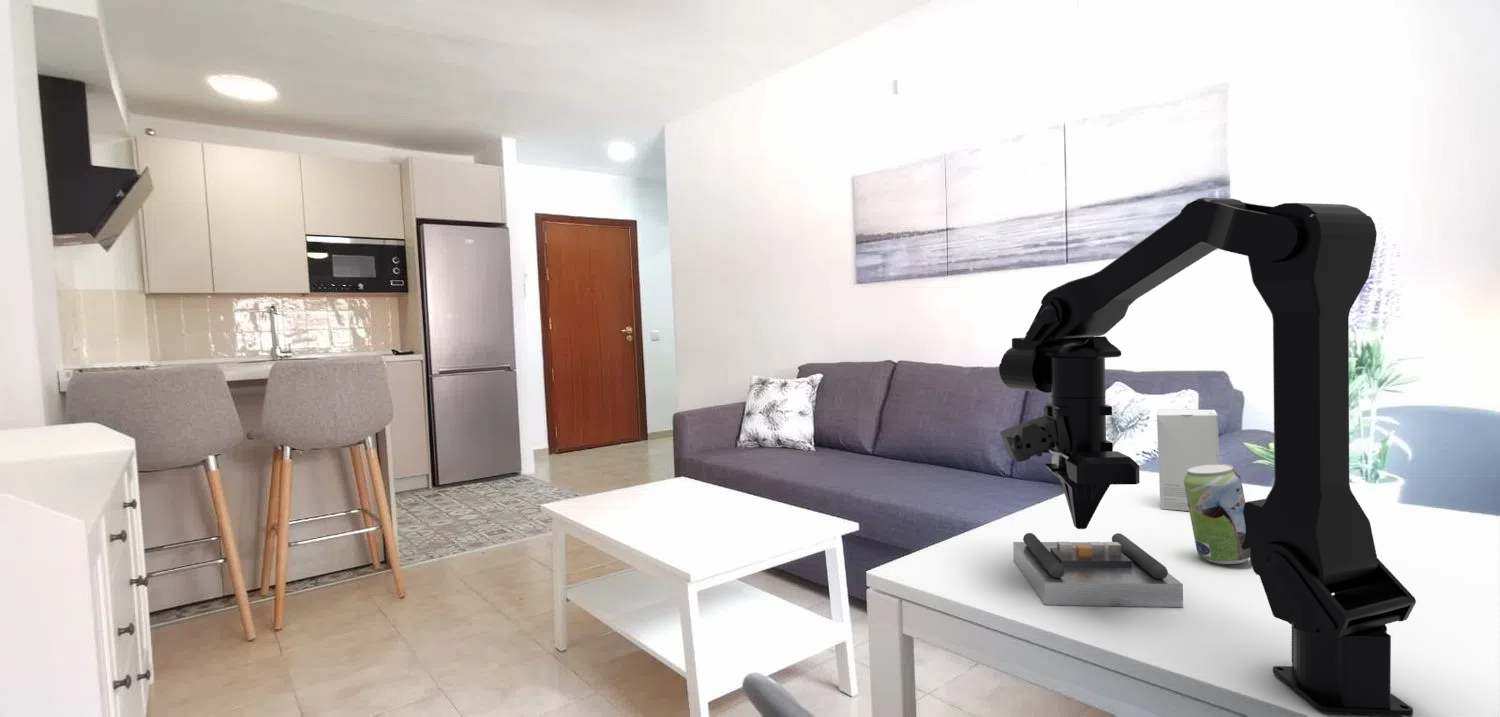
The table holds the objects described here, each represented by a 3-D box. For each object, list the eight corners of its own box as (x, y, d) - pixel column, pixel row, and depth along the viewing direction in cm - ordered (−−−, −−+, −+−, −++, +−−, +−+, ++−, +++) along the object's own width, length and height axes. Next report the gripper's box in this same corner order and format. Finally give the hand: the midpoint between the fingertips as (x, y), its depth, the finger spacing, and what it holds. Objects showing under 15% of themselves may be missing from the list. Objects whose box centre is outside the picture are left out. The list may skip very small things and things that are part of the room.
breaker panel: (1183, 607, 73) (1182, 565, 73) (1045, 604, 75) (1044, 564, 75) (1128, 562, 87) (1128, 526, 87) (1013, 560, 89) (1012, 526, 89)
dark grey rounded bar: (1066, 580, 75) (1066, 565, 75) (1051, 580, 75) (1051, 565, 75) (1035, 543, 88) (1034, 531, 88) (1021, 543, 88) (1021, 531, 88)
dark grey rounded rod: (1170, 581, 74) (1170, 567, 74) (1154, 581, 74) (1154, 566, 74) (1123, 544, 86) (1123, 531, 86) (1109, 544, 86) (1109, 531, 86)
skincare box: (1219, 505, 111) (1218, 409, 110) (1221, 515, 105) (1220, 414, 104) (1158, 500, 115) (1157, 407, 114) (1157, 509, 109) (1156, 412, 109)
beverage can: (1265, 570, 83) (1264, 471, 82) (1197, 568, 84) (1196, 470, 83) (1239, 552, 89) (1238, 460, 88) (1176, 551, 90) (1175, 460, 90)
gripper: (989, 390, 90) (991, 507, 91) (1027, 407, 72) (1030, 554, 72) (1078, 388, 89) (1080, 507, 90) (1140, 404, 70) (1142, 554, 71)
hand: (1080, 528), depth 81 cm, fingers closed
